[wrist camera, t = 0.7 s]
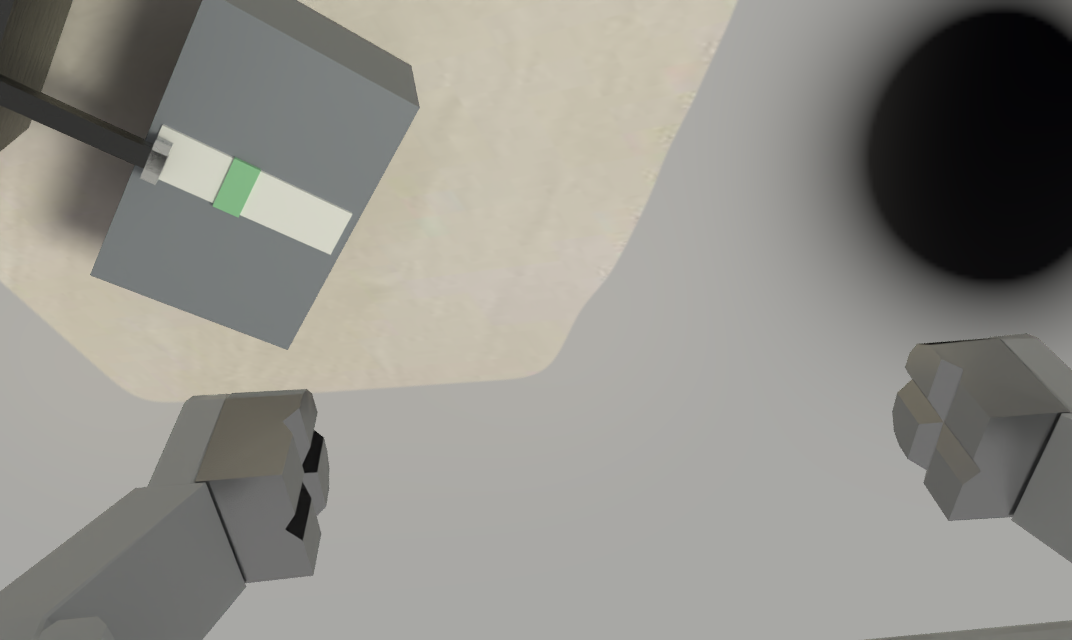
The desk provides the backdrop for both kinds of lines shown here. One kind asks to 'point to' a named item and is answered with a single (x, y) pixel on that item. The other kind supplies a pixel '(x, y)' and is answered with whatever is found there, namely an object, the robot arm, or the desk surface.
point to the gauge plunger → (15, 97)
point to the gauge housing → (259, 165)
